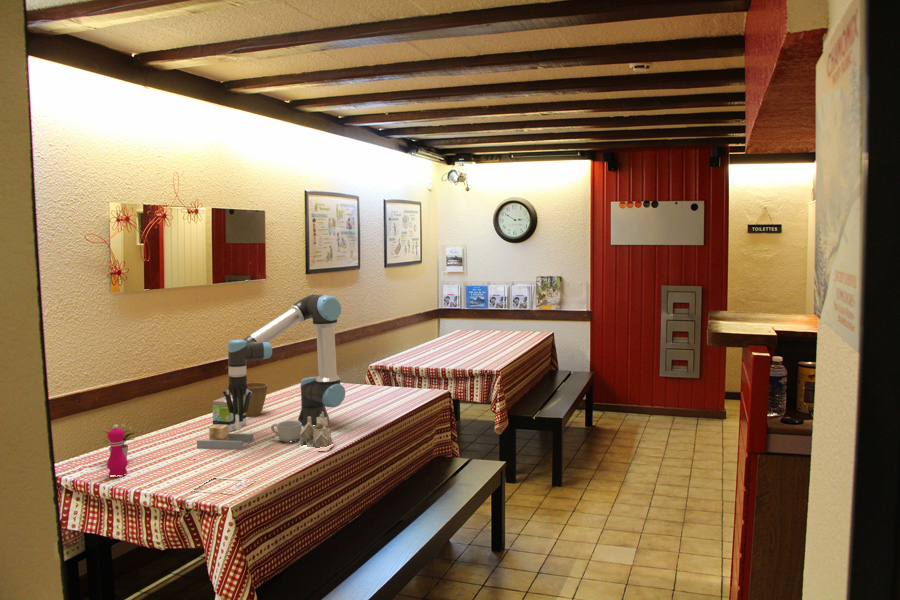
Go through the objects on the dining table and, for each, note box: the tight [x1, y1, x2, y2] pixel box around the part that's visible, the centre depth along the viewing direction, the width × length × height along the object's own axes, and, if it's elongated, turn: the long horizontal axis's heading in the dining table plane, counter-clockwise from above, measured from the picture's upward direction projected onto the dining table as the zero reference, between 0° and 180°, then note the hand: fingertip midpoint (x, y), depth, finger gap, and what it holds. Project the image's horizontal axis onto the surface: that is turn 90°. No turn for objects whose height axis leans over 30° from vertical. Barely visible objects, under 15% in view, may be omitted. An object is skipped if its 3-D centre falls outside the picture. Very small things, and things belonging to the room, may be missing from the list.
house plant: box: [100, 422, 139, 459], centre depth 278 cm, size 14×14×16 cm
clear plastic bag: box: [193, 476, 250, 492], centre depth 249 cm, size 15×1×18 cm
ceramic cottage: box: [297, 412, 334, 448], centre depth 298 cm, size 16×16×15 cm
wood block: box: [208, 425, 230, 441], centre depth 299 cm, size 6×6×8 cm
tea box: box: [212, 394, 247, 433], centre depth 332 cm, size 15×10×15 cm
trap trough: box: [196, 432, 255, 450], centre depth 299 cm, size 20×13×4 cm, turn 83°
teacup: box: [270, 420, 302, 443], centre depth 309 cm, size 14×11×8 cm
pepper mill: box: [106, 423, 129, 476], centre depth 262 cm, size 7×7×20 cm
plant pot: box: [244, 382, 268, 417], centre depth 357 cm, size 15×15×16 cm
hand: (238, 428), depth 297 cm, fingers closed
